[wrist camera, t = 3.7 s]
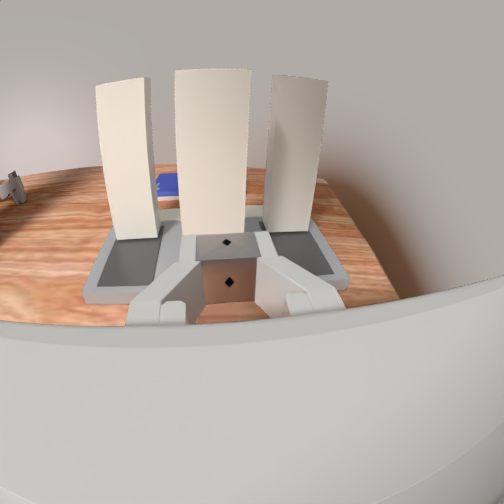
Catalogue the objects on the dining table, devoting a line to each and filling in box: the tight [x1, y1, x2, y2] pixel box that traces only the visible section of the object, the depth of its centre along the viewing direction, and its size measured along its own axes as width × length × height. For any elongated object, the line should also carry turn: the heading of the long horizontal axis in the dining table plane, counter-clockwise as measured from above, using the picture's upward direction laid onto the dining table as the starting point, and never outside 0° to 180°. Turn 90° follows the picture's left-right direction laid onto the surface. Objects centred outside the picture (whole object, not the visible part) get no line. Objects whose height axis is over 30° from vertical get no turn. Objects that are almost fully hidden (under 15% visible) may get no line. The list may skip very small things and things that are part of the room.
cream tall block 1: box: [96, 77, 161, 240], centre depth 21 cm, size 2×4×14 cm, turn 99°
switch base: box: [82, 205, 350, 304], centre depth 25 cm, size 13×21×1 cm, turn 99°
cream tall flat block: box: [175, 69, 251, 235], centre depth 17 cm, size 2×4×14 cm, turn 99°
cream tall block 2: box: [262, 75, 328, 232], centre depth 23 cm, size 2×4×14 cm, turn 99°
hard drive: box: [156, 173, 179, 201], centre depth 38 cm, size 2×8×12 cm
